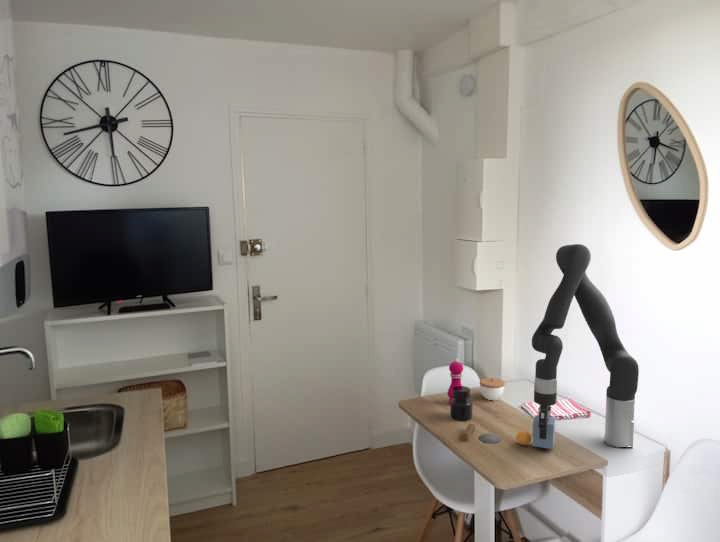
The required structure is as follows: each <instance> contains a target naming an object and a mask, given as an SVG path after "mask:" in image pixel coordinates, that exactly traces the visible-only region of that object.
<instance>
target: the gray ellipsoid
mask: <svg viewBox="0 0 720 542" xmlns="http://www.w3.org/2000/svg"><path fill="white" fill-rule="evenodd" d="M478 439H479V440H480V441H481V442H483V443H486V444H498V443H500V442H501V441H502V437H501V436H499V435H497V434H494V433H484V434H483V433H482V434H480V435H479V437H478Z"/></svg>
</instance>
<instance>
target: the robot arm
mask: <svg viewBox="0 0 720 542" xmlns="http://www.w3.org/2000/svg"><path fill="white" fill-rule="evenodd" d="M555 254H556V255H555V260H556V264H557V266H558V268H559V269H560V271H561V273H562V275H563V276H562V279H561V280H560V282H559V284H558V286H557V287H556V289H555V291H554V292H553V294H552V296H551V297H550V299H549V301H548V303H547V306H546V309H545V313H544V316H543V319H542V321H541V322H540V323H539V325H538V326H537V328H536V329H535V331H534V333H533V335H532V338H531V346H532V349H533V350H534V351H536V352H538V353H540V354H541V353H542V354H544V355H545V357H544V358H541V359H540V358H539V359H538V360H536V362H535V373H534V374H535V377H534V383H533V384H534V385H533V386H534V387H533V389H534V390H533V402H535V403H537V404H539V405H541V406H539V409H538V413H539V418H538V420H539V426H538V427H539V429H540V435H539V438H540V439H546V430H547V423H548V422H549V417H550V415H551V407H550V406H552V405H555V404H556V401H557V397H558V396H557V395H558V383H557V382H558V380H557V377H558V376H557V372H558V371H557V370H558V364H559V361H560V358H561V355H562V352H563V349H564V346H563V341H562V339H561V338H560V336H558V335H555V334H552V333H553V331H554V330H560V329H563V328H564V326H565V322H566V320H567V316H568V313H569V311H570V307H571V304H572V301H573V298H575V300H576V302H577V304H578V306H579V308H580V311H581V314H582V316H583V318H584V319H585V322H586V324H587V326H588V328H589V330H590V332H591V333H592V335H593V337H594V338H595V340H596V341H597V344H598V347H599V349H600V352H601V355H602V358H603V361H604V365H605V367H606V369H607V371H608V372H609V375H610V376H609V385H608V386H607V388H606V397H605V419H604V420H605V421H604V422H605V423H604V426H605V427H604V442H605V444H607V445H609V446H611V445H612V446H611V447H614V446H617V447H616V448H618V447H628V446H631V447H634V431H635V430H634V429H635V404H636V403H635V402H636V400H635V399H636V393H637V392H638V385H639V375H640V374H639V371H640V369H639V364H638V361H637V360H636V359H635V358H634V357H633V356H632V355H631V354H629V352H628V351H627V350H626V348H625V347H624V344H623V343H622V341H621V339H620V336H619V334H618V331H617V325H616V320H615V316H614V314H613V313H614V312H612V311H613V310H612V308H611V307H610V304H609V303H608V301H607V299H606V297H605V296H604V294H603V292H601V291H600V290H599V288H597V286H596V285H595V284H594V283H593V282H592V281H591V279H590V278H589V276H588V275H587V273H586V271H587V270H588V267H589V265H590V262H591V260H592V259H591V258H592V254H591V251H590V248H588V247H587V246H586V245H584V244H578V243H575V244H566V245H562V246H560V247H559V248H558V250H557V251H556V253H555ZM541 423H544V424H545V426H544V425H541Z"/></svg>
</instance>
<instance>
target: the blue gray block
mask: <svg viewBox="0 0 720 542" xmlns="http://www.w3.org/2000/svg"><path fill="white" fill-rule="evenodd" d="M538 418H539V415H535V418H533V422H532V439H531V442H532V445H531V446H532V447H538V448H544V449H549V450H553V449H554V445H555V440H556V439H555V438H556V437H555V436H556V420H555V418H554V417H549V422H548V423H547V430H546V439H540V438H539V435H540V429H539V427H538V426H539V420H538ZM541 425H544V426H545V424H544V423H541Z"/></svg>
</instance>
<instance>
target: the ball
mask: <svg viewBox="0 0 720 542" xmlns="http://www.w3.org/2000/svg"><path fill="white" fill-rule="evenodd" d="M516 440H517V442H518V443H519V444H520V445H522V446H526V445H528V444H530V443H531V442H532V435H531V434H530V432H529V431H527V430H524V429H522V430H519V431H518V432H517V433H516Z"/></svg>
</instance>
